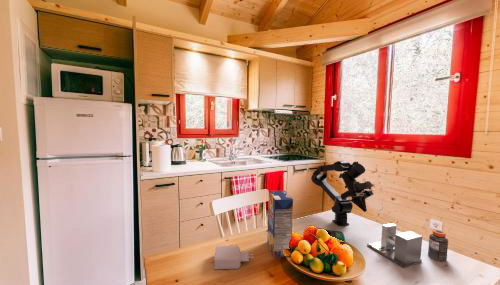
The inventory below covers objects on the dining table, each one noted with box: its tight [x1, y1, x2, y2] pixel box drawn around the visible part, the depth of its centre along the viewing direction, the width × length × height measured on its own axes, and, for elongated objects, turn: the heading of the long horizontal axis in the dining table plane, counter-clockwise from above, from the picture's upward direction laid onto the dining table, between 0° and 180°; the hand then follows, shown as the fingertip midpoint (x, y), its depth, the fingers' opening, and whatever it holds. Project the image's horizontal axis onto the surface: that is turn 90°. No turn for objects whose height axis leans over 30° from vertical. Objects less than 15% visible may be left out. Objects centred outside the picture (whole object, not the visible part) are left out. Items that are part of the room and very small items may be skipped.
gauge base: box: [367, 230, 423, 269], centre depth 92 cm, size 16×11×11 cm
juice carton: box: [266, 190, 294, 258], centre depth 94 cm, size 12×8×24 cm, turn 7°
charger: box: [213, 245, 255, 270], centre depth 85 cm, size 5×9×15 cm
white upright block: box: [378, 222, 397, 250], centre depth 93 cm, size 5×8×10 cm, turn 111°
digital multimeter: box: [317, 227, 346, 241], centre depth 106 cm, size 7×15×3 cm, turn 74°
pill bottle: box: [427, 229, 449, 262], centre depth 90 cm, size 6×6×11 cm
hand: (365, 211), depth 105 cm, fingers closed
